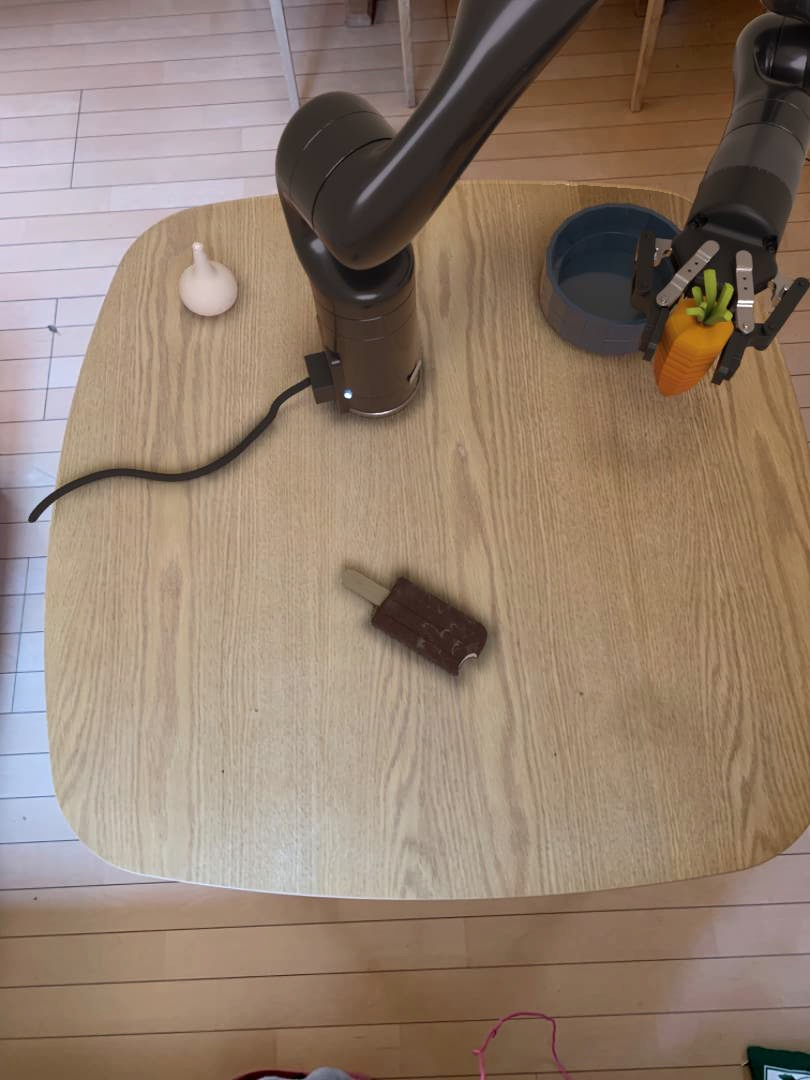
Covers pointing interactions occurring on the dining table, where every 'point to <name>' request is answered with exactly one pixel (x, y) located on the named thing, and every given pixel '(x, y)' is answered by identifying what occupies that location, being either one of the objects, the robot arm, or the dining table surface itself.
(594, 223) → the bowl
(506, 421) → the dining table surface
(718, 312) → the carrot
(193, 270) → the garlic bulb
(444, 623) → the ice cream bar
